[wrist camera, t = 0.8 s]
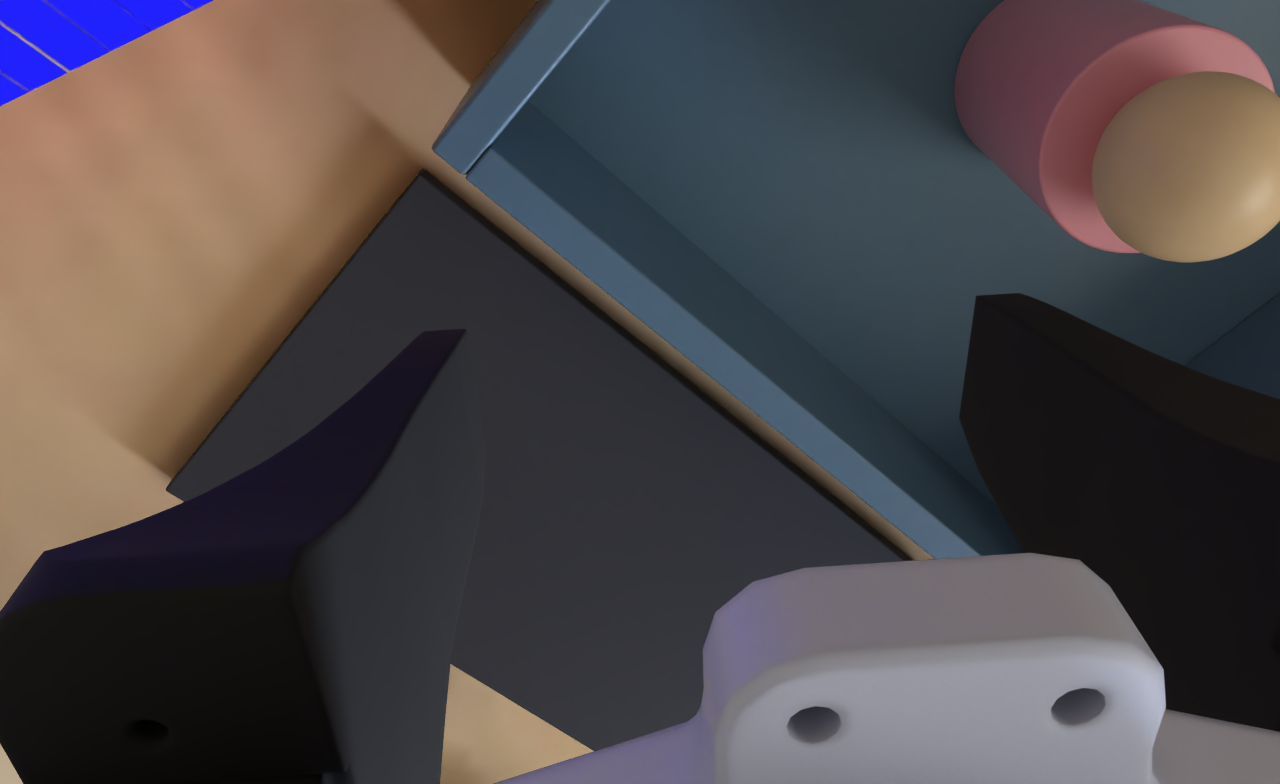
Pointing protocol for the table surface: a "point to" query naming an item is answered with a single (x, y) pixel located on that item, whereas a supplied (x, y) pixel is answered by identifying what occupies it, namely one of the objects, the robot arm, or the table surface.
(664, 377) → the mat
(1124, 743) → the robot arm
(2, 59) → the house
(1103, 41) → the doll
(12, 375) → the table surface
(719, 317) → the blue tray
